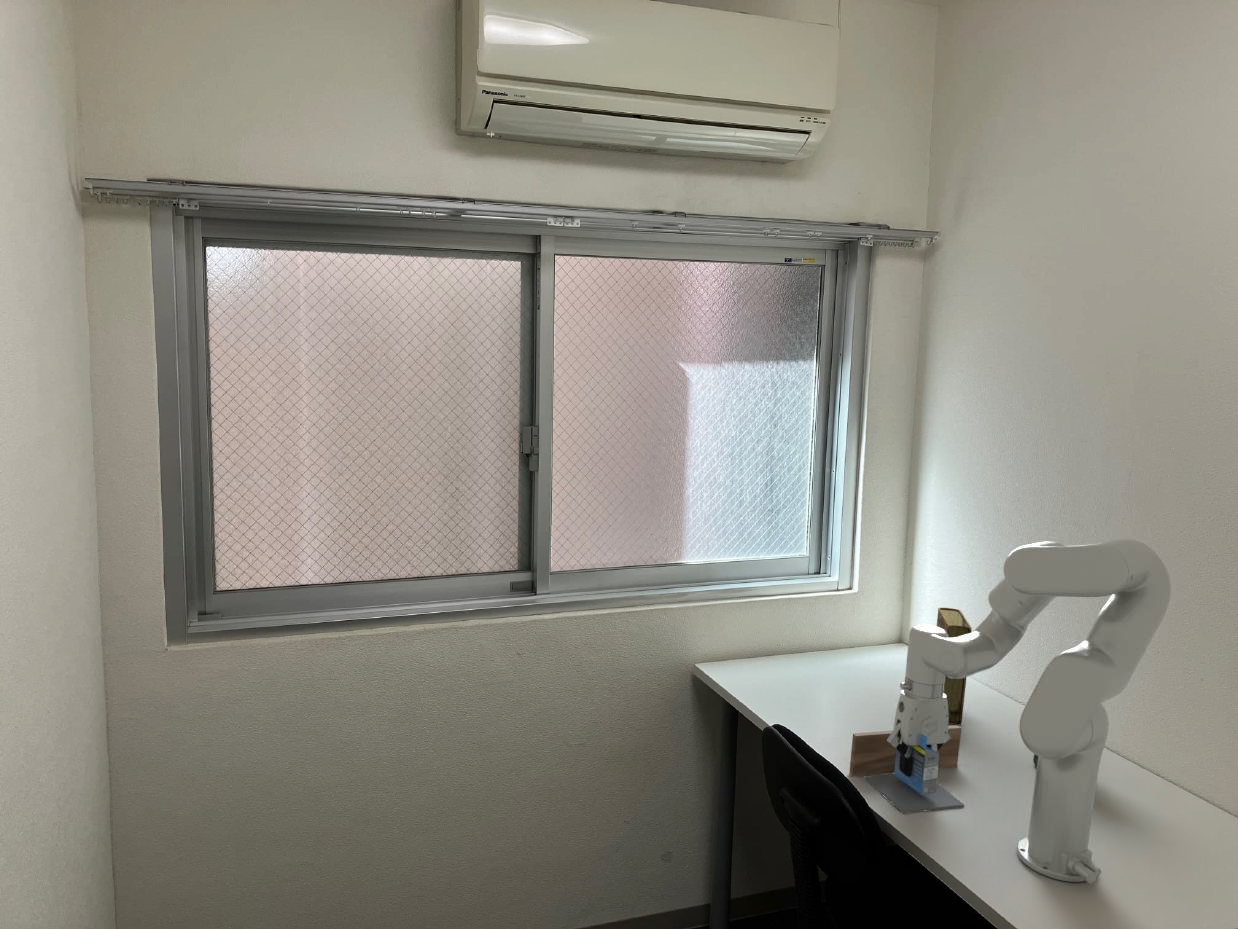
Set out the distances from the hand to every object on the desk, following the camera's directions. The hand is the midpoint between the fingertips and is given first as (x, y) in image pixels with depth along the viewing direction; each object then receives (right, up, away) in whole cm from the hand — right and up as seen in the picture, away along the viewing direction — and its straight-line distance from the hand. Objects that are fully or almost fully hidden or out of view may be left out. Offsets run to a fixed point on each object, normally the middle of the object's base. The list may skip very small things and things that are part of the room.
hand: (915, 771), depth 178 cm
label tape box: (0, -3, 0) cm, 3 cm away
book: (+22, 0, +43) cm, 48 cm away
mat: (0, -5, +1) cm, 5 cm away
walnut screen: (+1, -3, +10) cm, 11 cm away
